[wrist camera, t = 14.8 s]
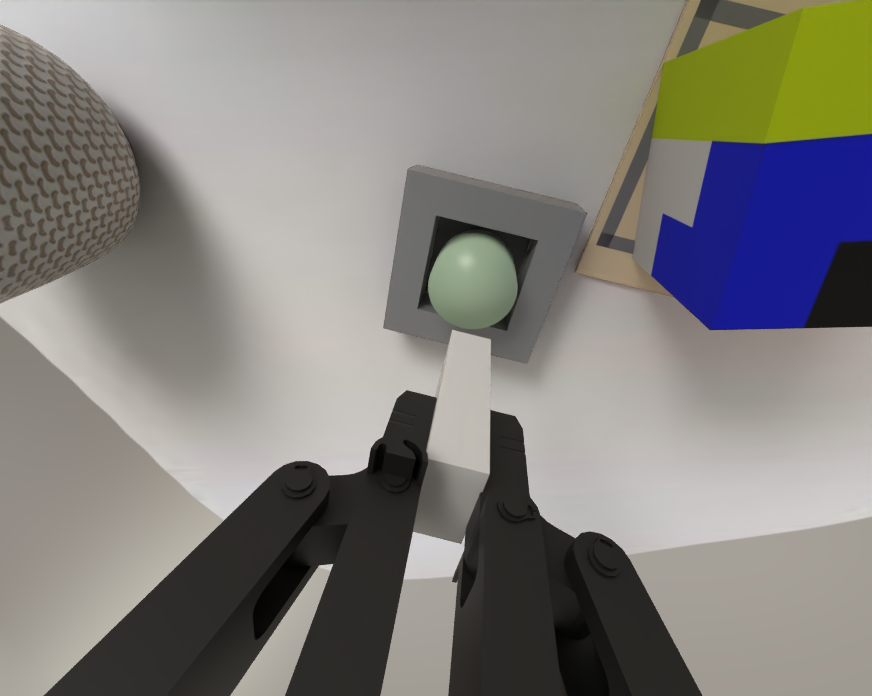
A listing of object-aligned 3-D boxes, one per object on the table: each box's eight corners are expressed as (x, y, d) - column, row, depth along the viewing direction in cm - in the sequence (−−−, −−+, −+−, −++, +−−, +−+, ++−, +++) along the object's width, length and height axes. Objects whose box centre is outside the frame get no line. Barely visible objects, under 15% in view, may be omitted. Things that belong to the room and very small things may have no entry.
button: (445, 221, 23) (438, 234, 20) (525, 240, 23) (530, 257, 20) (429, 295, 26) (420, 317, 23) (501, 313, 26) (502, 338, 23)
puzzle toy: (632, 258, 24) (709, 330, 15) (663, 62, 19) (803, 7, 11) (813, 249, 22) (1013, 323, 14) (897, 33, 18) (1287, -59, 9)
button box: (417, 164, 23) (407, 169, 21) (576, 203, 23) (587, 212, 21) (393, 310, 28) (383, 328, 26) (523, 342, 28) (526, 363, 26)
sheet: (714, -65, 17) (717, -68, 17) (999, 3, 17) (1007, 1, 17) (574, 271, 25) (575, 272, 25) (766, 318, 25) (769, 320, 25)
